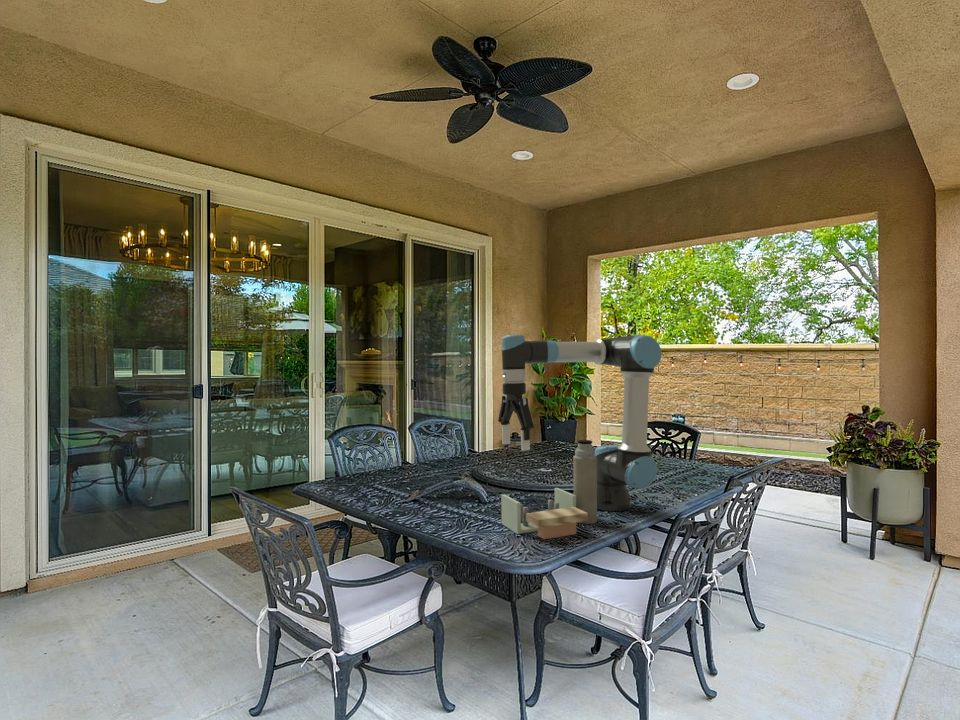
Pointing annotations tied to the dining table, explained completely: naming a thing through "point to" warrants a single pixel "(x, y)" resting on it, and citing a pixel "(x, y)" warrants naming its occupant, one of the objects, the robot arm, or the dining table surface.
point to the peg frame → (516, 512)
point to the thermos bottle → (585, 480)
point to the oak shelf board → (556, 517)
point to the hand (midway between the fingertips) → (515, 447)
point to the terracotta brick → (557, 531)
